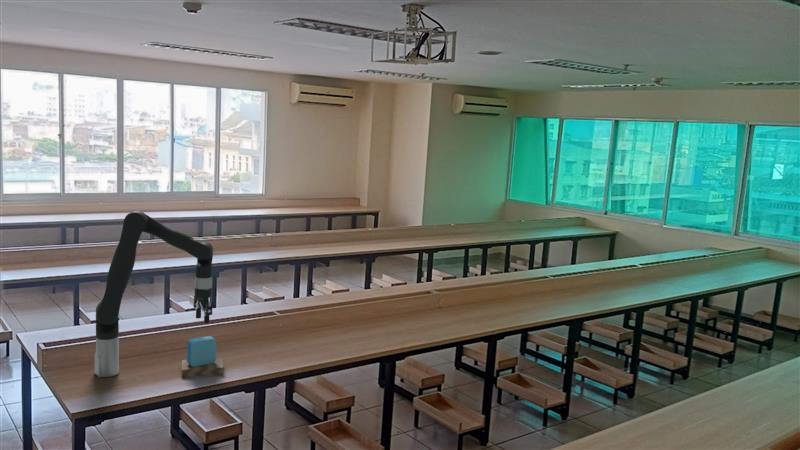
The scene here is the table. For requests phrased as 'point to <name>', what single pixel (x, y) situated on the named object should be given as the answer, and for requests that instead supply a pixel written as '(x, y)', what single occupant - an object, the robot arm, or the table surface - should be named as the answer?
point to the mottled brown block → (202, 369)
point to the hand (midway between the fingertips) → (202, 320)
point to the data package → (201, 351)
